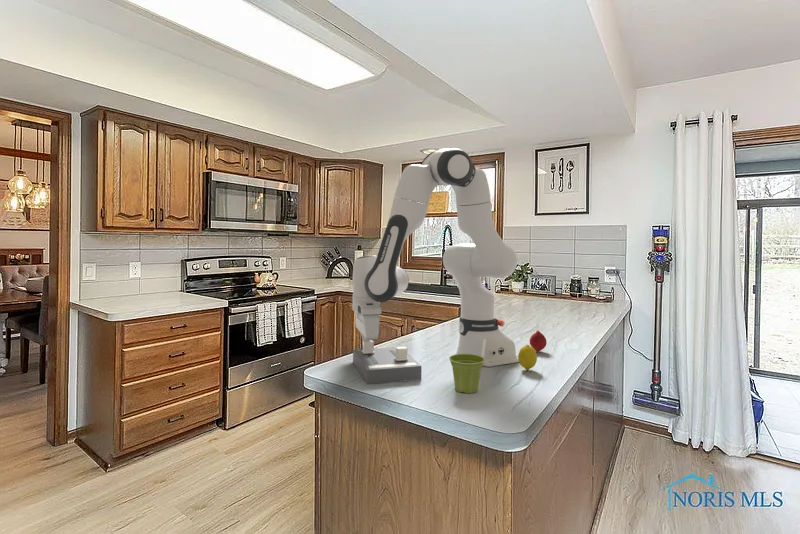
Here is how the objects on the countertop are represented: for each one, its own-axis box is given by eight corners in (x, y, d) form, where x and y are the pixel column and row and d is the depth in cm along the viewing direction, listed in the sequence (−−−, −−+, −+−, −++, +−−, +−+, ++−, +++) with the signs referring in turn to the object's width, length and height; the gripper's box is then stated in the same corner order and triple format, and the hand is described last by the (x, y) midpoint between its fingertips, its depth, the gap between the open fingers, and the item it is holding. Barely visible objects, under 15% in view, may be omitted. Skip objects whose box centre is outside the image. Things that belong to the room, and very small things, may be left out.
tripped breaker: (372, 350, 139) (372, 340, 139) (374, 353, 136) (374, 342, 136) (361, 351, 138) (361, 340, 138) (363, 353, 135) (363, 342, 135)
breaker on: (405, 357, 131) (405, 346, 131) (408, 360, 129) (408, 348, 128) (394, 358, 130) (394, 346, 130) (396, 360, 128) (397, 349, 127)
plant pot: (460, 398, 110) (461, 365, 110) (442, 386, 119) (443, 355, 118) (490, 393, 114) (491, 361, 113) (471, 382, 122) (471, 352, 122)
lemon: (537, 373, 131) (538, 347, 130) (518, 372, 132) (519, 346, 131) (535, 368, 136) (536, 343, 136) (517, 366, 137) (518, 342, 137)
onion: (547, 351, 157) (548, 329, 156) (543, 354, 152) (544, 332, 151) (531, 348, 160) (532, 327, 159) (527, 352, 155) (528, 330, 154)
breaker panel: (399, 358, 145) (399, 346, 145) (421, 379, 124) (421, 365, 124) (352, 362, 141) (353, 349, 140) (367, 384, 120) (367, 369, 119)
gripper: (351, 300, 149) (351, 339, 150) (362, 310, 129) (362, 355, 130) (369, 300, 150) (368, 338, 151) (382, 309, 131) (382, 354, 132)
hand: (365, 346), depth 141 cm, fingers closed
